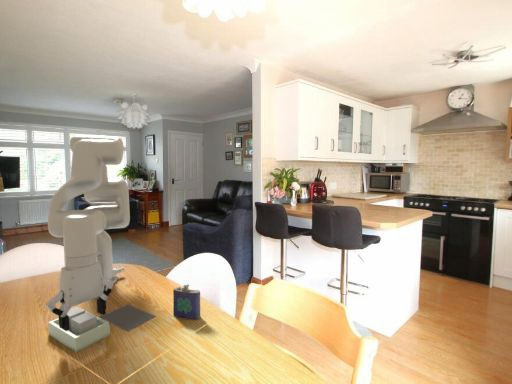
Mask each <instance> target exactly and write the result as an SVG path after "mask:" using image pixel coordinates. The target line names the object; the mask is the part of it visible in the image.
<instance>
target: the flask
mask: <svg viewBox="0 0 512 384" xmlns="http://www.w3.org/2000/svg"><path fill="white" fill-rule="evenodd" d="M189 287H190V284H188V283H187V284H183V287H181V286H178V287H175V288H173V305H172V306H173V317H174V318H175V317H176V318H178V319H183V320H195V321H196V320H199V319H201V317H202V316H201V291H200V290H198V289H189Z"/></svg>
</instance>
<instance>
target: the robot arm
mask: <svg viewBox="0 0 512 384" xmlns="http://www.w3.org/2000/svg"><path fill="white" fill-rule="evenodd" d="M69 148H70V150H71V152H72V157H71V168H70V169H71V170H70V179H69V180H68V181H66V182H65V183H64V184H63V185H61V186H60V187H59V188H58V189H57V190H56V191H55V193H54V194H53V196H52V198H51V200H50V202H49V209H48V217H47V229H48V233H49V234H50V235H51V236H52V237H55V238H63V240H62V242H63V258H64V259H63V261H64V266H63V267H61V269H60V274H59V281H58V293H57V294H56V295H54V296H53V297H52V298H50V300H48V301H47V302H45V307H46V308H47V309H48V310H49V311H50V312H51V313H53V314H54V315H57V316H58V318H59V327H60V328H62V329H63V330H65V331H68V330H69V329H70V328H69V316H68V315H67V313H68V311H69V310H70V309H72V308H74V307H77V306H79V305H81V304H84V303H86V302H89V301H92V300H94V299H96V311H97V313H98V314H100V315H101V316H102V315H105V314H107V313H106V310H107V300H108V299H109V295H110V294H111V293H112V290H113V288H114V285H115V283H117V281H118V276H117V275H118V274H121V273H123V272H125V269H124V267H120V268H117V267H115V268H114V266H113V265H114V264H113V240H112V237H111V236H110V234H109V233H108V232H107V231H106V230H111V229H112V230H113V229H125V228H127V227H128V226H129V225H130V221H131V216H130V215H131V213H130V193H129V186H128V185H129V184H128V183H127V181H126V180H124V179H120V178H108V168H107V167H108V166H117V165H120V164H121V163H122V160H123V157H124V153H125V152H124V151H125V150H124V149H125V147H124V142H123V140H122V139H121V137H119V136H111V135H109V136H107V135H82V134H81V135H74V136H72V137H71V138H70V139H69ZM81 195H83V196H84V199H85V201H86V202H87V203H89V204H107V205H93V206H92V205H91V206H88V207H86V208H84V209H72V210H63V209H64V207H65V205H66V204H68V202H69V201H71V200H73V199H74V198H76V197H79V196H81ZM111 203H113V204H114V205H113V204H112V205H111ZM108 204H110V205H108ZM57 303H59V304H60V305H59V307H58V308H57V306H56V305H57Z"/></svg>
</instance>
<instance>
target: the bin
mask: <svg viewBox="0 0 512 384" xmlns="http://www.w3.org/2000/svg"><path fill="white" fill-rule="evenodd" d="M85 312H88V311H86V310H85ZM47 323H48V335H49V337H50V336H51V338H52V339H54V340H56V341H58V342H60V343H61V344H63V345H64V346H65V347H66V348H69V349H70V350H72V351H73V352H74V353H77V352H80V351H82V350H84V349H86V348H88V347H90V346H91V345H94V344H95V343H97V342H100V341H101V340H103V339H106V338H107V337H110V335H111V334H110V333H111V331H110V322H108V321H106V320H104V319H102V318H100V316H97V327H95V328H93V329H91V330H89V331H87V332H84V333H82V334H80V335H78V336H76V335H74V334H73V333H71V332H69V331H65V330H63V329H62V328H60V327H59V317H57V318H56V319H53V320H52V319H51V320H50V321H48V322H47Z"/></svg>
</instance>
